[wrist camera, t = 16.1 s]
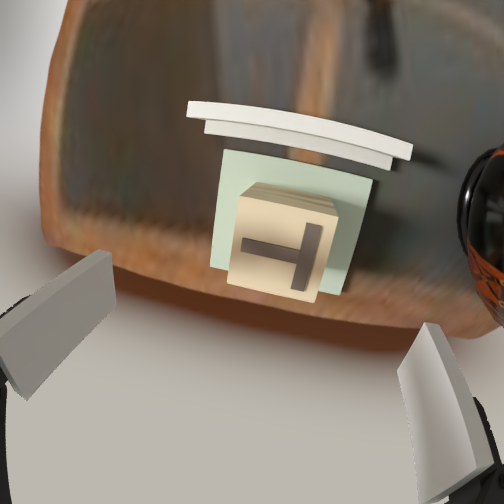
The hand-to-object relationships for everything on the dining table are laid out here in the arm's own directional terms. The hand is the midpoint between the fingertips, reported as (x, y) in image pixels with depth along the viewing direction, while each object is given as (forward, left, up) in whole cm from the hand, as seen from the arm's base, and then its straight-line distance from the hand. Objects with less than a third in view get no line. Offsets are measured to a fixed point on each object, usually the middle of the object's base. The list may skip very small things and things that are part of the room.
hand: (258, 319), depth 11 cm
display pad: (+1, +2, -22) cm, 22 cm away
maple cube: (+1, +2, -21) cm, 21 cm away
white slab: (-4, -7, -22) cm, 23 cm away
